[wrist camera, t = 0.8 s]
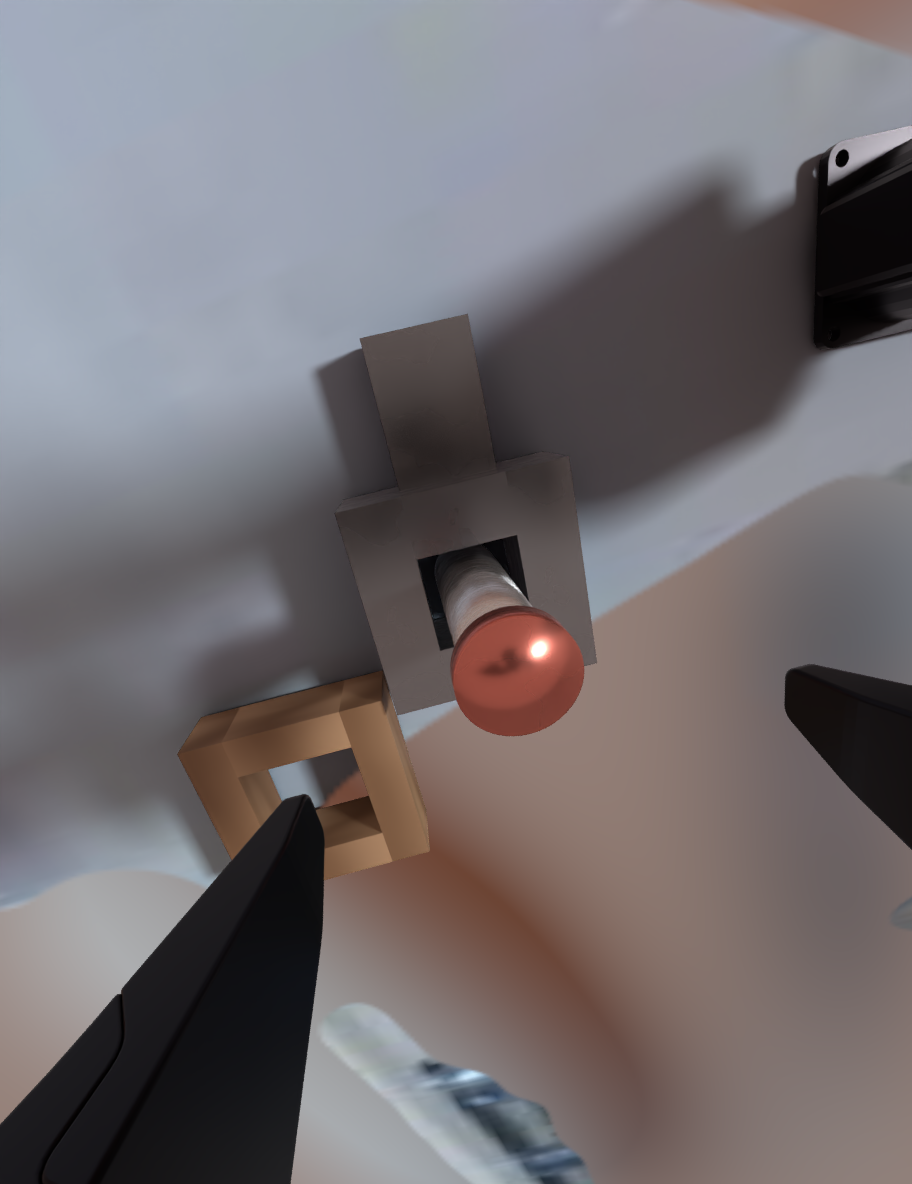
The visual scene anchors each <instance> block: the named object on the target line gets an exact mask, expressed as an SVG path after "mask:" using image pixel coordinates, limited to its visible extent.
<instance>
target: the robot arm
mask: <svg viewBox="0 0 912 1184" xmlns="http://www.w3.org/2000/svg"><path fill="white" fill-rule="evenodd" d="M836 156H837V157H838V158H839V166H837V165H836V162H835V159H836ZM911 329H912V126H907V127H903V128H898V129H894V130H889V131H884V132H880V133H875V134H871V135H866V136H862V137H857V138H853V139H848V140H843V141H841V142H839V143H837V144H836V145H834V146H832V147H831V148H829V149H828V150H827V151H826V152H825V153H824V154H823V156H822V158H821V160H820V165H819V186H818V216H817V246H816V276H815V307H814V337H813V339H814V344H815V346H816V347H817V348H818V349H820V350H825V349H831V348H836V347H840V346H844V345H849V344H853V343H857V342H861V341H865V340H870V339H874V338H878V337H882V336H886V335H890V334H895V333H899V332H903V331H907V330H911ZM830 330H831V333H832V335H831V338H830V340H829V339H828V333H829V331H830ZM784 705H785V711H786V713H787V716H788V717H789V719H790V720H791V722H792V723H793V724H794V725H795V726H796V727H797V728H798V730H799V731H800V732H801V733H802V735H803V736H804V737H805V738H806V739H807V740H808V741H809V743H810V744H811V745H812V746H813V747H814V748H815V750H816V751H817V752H818V753H819V754H820V755H821V757H822V758H823V759H824V760H825V761H826V762H827V764H828V765H829V766H830V767H831V768H832V769H833V771H834V772H835V773H836V774H837V775H838V776H839V778H840V779H841V780H842V781H843V782H844V783H845V784H846V785H847V786H848V787H849V789H850V790H851V791H852V792H853V793H854V794H855V795H856V796H857V797H858V798H859V799H860V800H861V801H862V802H863V803H864V804H865V805H866V806H867V807H868V808H870V810H871V811H872V812H874V814H875V815H877V816H878V817H879V818H880V819H881V820H882V821H883V822H884V823H885V824H886V825H887V826H888V827H889V828H890V829H891V830H892V831H893V832H894V833H895V834H896V835H897V836H898V837H899V838H900V839H901V840H902V841H903V842H904V843H905V844H906V845H907V846H908V847H910V849H911V850H912V685H907V684H902V683H898V682H893V681H889V680H884V679H879V678H875V677H870V676H865V675H861V674H856V673H851V672H847V671H842V670H838V669H833V668H828V667H823V666H819V665H814V664H807V665H803V666H799V667H796V668H792V669H790V670H788V671H787V673H786V676H785V704H784ZM324 856H325V837H324V831H323V827H322V825H321V822H320V820H319V817H318V815H317V812H316V810H315V807H314V805H313V803H312V800H311V798H310V797H309V796H308V795H306V794H302V795H298V796H294V797H290V798H287V799H285V800H283V801H282V802H281V803H280V805H279V806H278V807H277V808H276V809H275V810H274V812H273V813H272V814H271V815H270V816H269V817H268V819H267V820H266V821H265V822H264V823H263V824H262V826H261V827H260V828H259V829H258V830H257V831H256V833H255V834H254V835H253V836H252V837H251V838H250V840H249V841H248V842H247V843H246V844H245V845H244V847H243V848H242V849H241V850H240V851H239V852H238V854H237V855H236V856H235V857H234V858H233V859H232V861H231V862H230V863H229V864H228V865H227V866H226V868H225V869H224V870H223V871H222V872H221V873H220V875H219V876H218V877H217V878H216V879H215V880H214V882H213V883H212V884H211V885H210V886H209V887H208V889H207V890H206V891H205V892H204V893H203V894H202V896H201V897H200V898H199V899H198V901H197V902H196V903H195V904H194V905H193V906H192V907H191V909H190V910H189V911H188V912H187V913H186V915H184V917H183V918H182V919H181V920H180V922H179V923H178V924H177V925H176V926H175V927H174V928H173V929H172V931H171V932H170V933H169V934H168V935H167V936H166V938H165V939H164V940H163V941H162V943H161V944H160V945H159V946H158V947H157V948H156V949H155V951H154V952H153V953H152V954H151V955H150V956H149V957H148V959H147V960H146V961H145V962H144V963H143V965H142V966H141V967H140V968H139V969H138V970H137V972H136V973H135V974H134V975H133V976H132V977H131V978H130V980H129V981H128V982H127V983H126V984H125V986H124V987H123V988H122V990H121V994H117V995H116V996H115V997H114V998H113V999H112V1000H111V1002H110V1003H109V1004H108V1005H107V1006H106V1007H105V1009H104V1010H103V1011H102V1012H101V1013H100V1014H99V1016H98V1017H97V1018H96V1019H95V1020H94V1021H93V1023H92V1024H91V1025H90V1026H89V1027H88V1028H87V1029H86V1031H85V1032H84V1033H83V1034H82V1035H81V1036H80V1037H79V1039H78V1040H77V1041H76V1042H75V1043H74V1044H73V1045H72V1047H71V1048H70V1049H69V1050H68V1051H67V1052H66V1053H65V1054H64V1056H63V1057H62V1058H61V1059H60V1060H59V1061H58V1062H57V1063H56V1065H55V1066H54V1067H53V1068H52V1069H51V1070H50V1071H49V1072H48V1073H47V1075H46V1076H45V1077H44V1078H43V1079H42V1080H41V1081H40V1082H39V1083H38V1084H37V1085H36V1086H35V1087H34V1089H33V1090H32V1091H31V1092H30V1093H29V1094H28V1095H27V1096H26V1097H25V1098H24V1099H23V1100H22V1101H21V1103H20V1104H19V1105H18V1106H17V1107H16V1108H15V1109H14V1110H13V1111H12V1112H11V1113H10V1115H9V1116H8V1117H7V1118H6V1119H5V1120H4V1121H3V1122H2V1123H1V1124H0V1184H291V1175H292V1168H293V1160H294V1152H295V1144H296V1136H297V1128H298V1121H299V1113H300V1105H301V1098H302V1090H303V1082H304V1074H305V1066H306V1059H307V1050H308V1043H309V1035H310V1027H311V1019H312V1012H313V1004H314V996H315V988H316V980H317V972H318V965H319V957H320V949H321V939H322V929H323V899H324Z"/></svg>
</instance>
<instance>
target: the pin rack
mask: <svg viewBox="0 0 912 1184" xmlns="http://www.w3.org/2000/svg"><path fill="white" fill-rule="evenodd" d="M351 747H352V750H353V753H354V756H355V759H356V761H357V764H358V767H359V770H360V772H361V775H362V778H363V781H364V783H365V786H366V789H367V792H368V795H369V796H366V797H363V798H359V799H355V800H352V801H348V802H344V803H340V804H337V805H333V806H329V807H326V808H322V809H318V810H316V812H317V815H318V817H319V820H320V822H321V825H322V827H323V831H324V837H325V856H324V880H327V879H331V878H334V877H338V876H341V875H345V874H349V873H352V872H356V871H359V870H363V869H367V868H370V867H374V866H378V865H381V864H385V863H389V862H392V861H396V860H400V859H403V858H407V857H410V856H414V855H418V854H421V853H425V852H428V851H429V850H430V849H429V838H428V826H427V815H426V808H425V805H424V802H423V798H422V795H421V792H420V789H419V786H418V782H417V779H416V776H415V773H414V770H413V766H412V763H411V760H410V757H409V754H408V750H407V747H406V744H405V741H404V737H403V734H402V731H401V728H400V725H399V721H398V718H397V715H396V712H395V709H394V705H393V702H392V699H391V696H390V693H389V689H388V686H387V683H386V680H385V676H384V673H383V670H382V671H378V672H374V673H370V674H367V675H363V676H359V677H355V678H351V679H347V680H343V681H339V682H336V683H332V684H328V685H324V686H320V687H316V688H312V689H309V690H305V691H301V692H297V693H293V694H289V695H285V696H281V697H278V698H274V699H270V700H266V701H262V702H258V703H254V704H251V705H247V706H243V707H239V708H235V709H231V710H227V711H224V712H220V713H216V714H212V715H208V716H204V717H201V718H200V720H199V721H198V723H197V724H196V726H195V728H194V729H193V731H192V732H191V734H190V735H189V737H188V738H187V740H186V741H185V743H184V745H183V746H182V748H181V749H180V751H179V752H178V754H177V755H178V757H179V759H180V761H181V763H182V764H183V766H184V768H185V770H186V772H187V774H188V776H189V778H190V780H191V782H192V784H193V786H194V788H195V790H196V792H197V794H198V795H199V797H200V799H201V801H202V803H203V805H204V807H205V809H206V811H207V813H208V815H209V817H210V819H211V821H212V823H213V825H214V826H215V828H216V830H217V832H218V834H219V836H220V838H221V840H222V842H223V844H224V846H225V848H226V850H227V852H228V854H229V856H230V857H231V859H233V858H234V857H235V856H236V855H237V854H238V852H239V851H240V850H241V849H242V848H243V847H244V845H245V844H246V843H247V842H248V841H249V840H250V838H251V837H252V836H253V835H254V834H255V833H256V831H257V830H258V829H259V828H260V827H261V826H262V824H263V823H264V822H265V821H266V820H267V819H268V817H269V816H270V815H271V814H272V813H273V812H274V810H275V809H276V808H277V807H278V806H279V805H280V803H281V802H282V801H281V798H280V796H279V794H278V792H277V789H276V787H275V785H274V783H273V780H272V778H271V776H270V773H269V771H268V769H271V768H275V767H279V766H283V765H287V764H290V763H294V762H298V761H302V760H305V759H309V758H313V757H317V756H320V755H324V754H328V753H332V752H336V751H339V750H343V749H347V748H351Z"/></svg>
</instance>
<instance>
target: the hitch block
mask: <svg viewBox="0 0 912 1184" xmlns="http://www.w3.org/2000/svg"><path fill="white" fill-rule="evenodd" d="M360 342H361V345H362V349H363V353H364V357H365V361H366V365H367V369H368V372H369V376H370V380H371V384H372V388H373V392H374V395H375V399H376V403H377V407H378V411H379V415H380V419H381V422H382V426H383V430H384V434H385V438H386V442H387V446H388V449H389V453H390V457H391V461H392V465H393V469H394V472H395V476H396V480H397V484H398V486H397V487H393V488H389V489H385V490H381V491H377V492H373V493H368V494H364V495H360V496H356V497H352V498H348V499H344V500H343V501H342V502H341V504H340V505H339V507H338V509H337V510H336V512H335V516H336V519H337V522H338V526H339V529H340V532H341V535H342V539H343V542H344V545H345V548H346V551H347V555H348V558H349V561H350V564H351V567H352V571H353V574H354V577H355V580H356V584H357V587H358V590H359V593H360V596H361V600H362V603H363V606H364V609H365V612H366V616H367V619H368V622H369V625H370V629H371V632H372V635H373V638H374V641H375V645H376V648H377V651H378V654H379V657H380V661H381V664H382V667H383V670H384V674H385V677H386V680H387V683H388V686H389V690H390V693H391V696H392V699H393V703H394V706H395V709H396V712H397V715H401V714H405V713H408V712H412V711H416V710H420V709H424V708H427V707H431V706H435V705H439V704H443V703H446V702H450V701H454V700H457V699H456V696H455V692H454V688H453V684H452V679H451V674H450V662H451V656H452V652H453V649H454V643H453V640H452V636H451V633H450V629H449V626H448V622H447V619H446V617H444V618H440V619H437V620H433V616H432V612H431V609H430V605H429V601H428V597H427V593H426V589H425V585H424V582H423V578H422V574H421V570H420V566H419V562H418V559H422V558H426V557H430V556H434V555H438V554H442V553H446V552H450V551H454V550H458V549H462V548H466V547H470V546H474V545H478V544H482V543H486V542H490V541H494V540H498V539H502V538H503V541H504V547H505V552H506V557H507V562H508V568H509V573H510V578H511V579H512V581H513V582H514V583H515V584H516V586H517V587H518V588H519V590H520V591H521V592H522V594H523V595H524V596H525V597H526V599H527V600H528V601H529V603H530V604H531V605H532V607H534V608H537V609H540V610H542V611H545V612H547V613H548V614H550V615H551V616H553V617H554V618H555V619H556V620H558V621H559V622H560V623H561V625H562V626H563V627H564V628H565V629H566V631H567V632H568V633H569V634H570V635H571V636H572V638H573V639H574V640H575V641H576V643H577V645H578V647H579V648H580V651H581V654H582V657H583V661H584V666H587V665H591V664H595V663H597V660H596V652H595V645H594V637H593V631H592V622H591V615H590V608H589V600H588V593H587V585H586V578H585V571H584V563H583V556H582V548H581V541H580V534H579V526H578V519H577V511H576V504H575V496H574V489H573V482H572V474H571V467H570V459H569V456H566V455H560V454H555V453H550V452H544V451H542V452H538V453H534V454H529V455H525V456H521V457H517V458H513V459H509V460H505V461H501V462H496V463H495V457H494V452H493V447H492V441H491V436H490V430H489V425H488V420H487V414H486V409H485V404H484V398H483V393H482V388H481V382H480V377H479V372H478V366H477V361H476V356H475V350H474V345H473V340H472V334H471V329H470V324H469V318H468V314H465V315H461V316H457V317H452V318H448V319H443V320H439V321H435V322H430V323H426V324H422V325H417V326H413V327H408V328H404V329H400V330H395V331H391V332H386V333H382V334H378V335H373V336H369V337H364V338H360Z"/></svg>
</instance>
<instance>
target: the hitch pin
mask: <svg viewBox="0 0 912 1184" xmlns="http://www.w3.org/2000/svg"><path fill="white" fill-rule="evenodd" d="M434 575H435V580H436V583H437V587H438V590H439V594H440V597H441V601H442V604H443V608H444V611H445V615H446V619H447V622H448V626H449V629H450V633H451V636H452V640H453V643H454V649H453V652H452V656H451V662H450V674H451V679H452V684H453V688H454V692H455V696H456V699H457V702H458V705H459V707H460V709H461V710H462V712H463V713H464V715H465V716H466V717H467V718H468V719H469V720H470V721H471V722H472V723H474V724H475V725H476V726H477V727H479V728H481V729H483V730H485V731H487V732H490V733H493V734H497V735H503V736H522V735H527V734H531V733H534V732H538V731H540V730H542V729H544V728H547V727H548V726H550V725H552V724H553V723H555V722H556V721H557V720H559V719H560V718H561V717H562V716H563V715H564V714H565V713H567V711H568V710H569V709H570V708H571V707H572V705H573V704H574V702H575V701H576V699H577V697H578V695H579V693H580V690H581V687H582V684H583V679H584V661H583V657H582V654H581V651H580V648H579V647H578V645H577V643H576V641H575V640H574V639H573V638H572V636H571V635H570V634H569V633H568V632H567V631H566V629H565V628H564V627H563V626H562V625H561V623H560V622H559V621H558V620H556V619H555V618H554V617H553V616H551V615H550V614H548V613H547V612H545V611H542V610H540V609H537V608H534V607H532V605H531V604H530V603H529V601H528V600H527V599H526V597H525V596H524V595H523V594H522V592H521V591H520V590H519V588H518V587H517V586H516V584H515V583H514V582H513V581H512V579H511V578H510V577H509V575H508V574H507V573H506V571H505V570H504V569H503V568H502V566H501V565H500V564H499V562H498V561H497V560H496V558H495V557H494V556H493V555H492V553H491V552H490V551H489V550H488V549H487V548H486V547H485V546H484V545H482V544H478V545H474V546H470V547H466V548H462V549H458V550H454V551H450V552H446V553H442V554H440V555H439V556H438V558H437V560H436V563H435V569H434Z"/></svg>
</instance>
